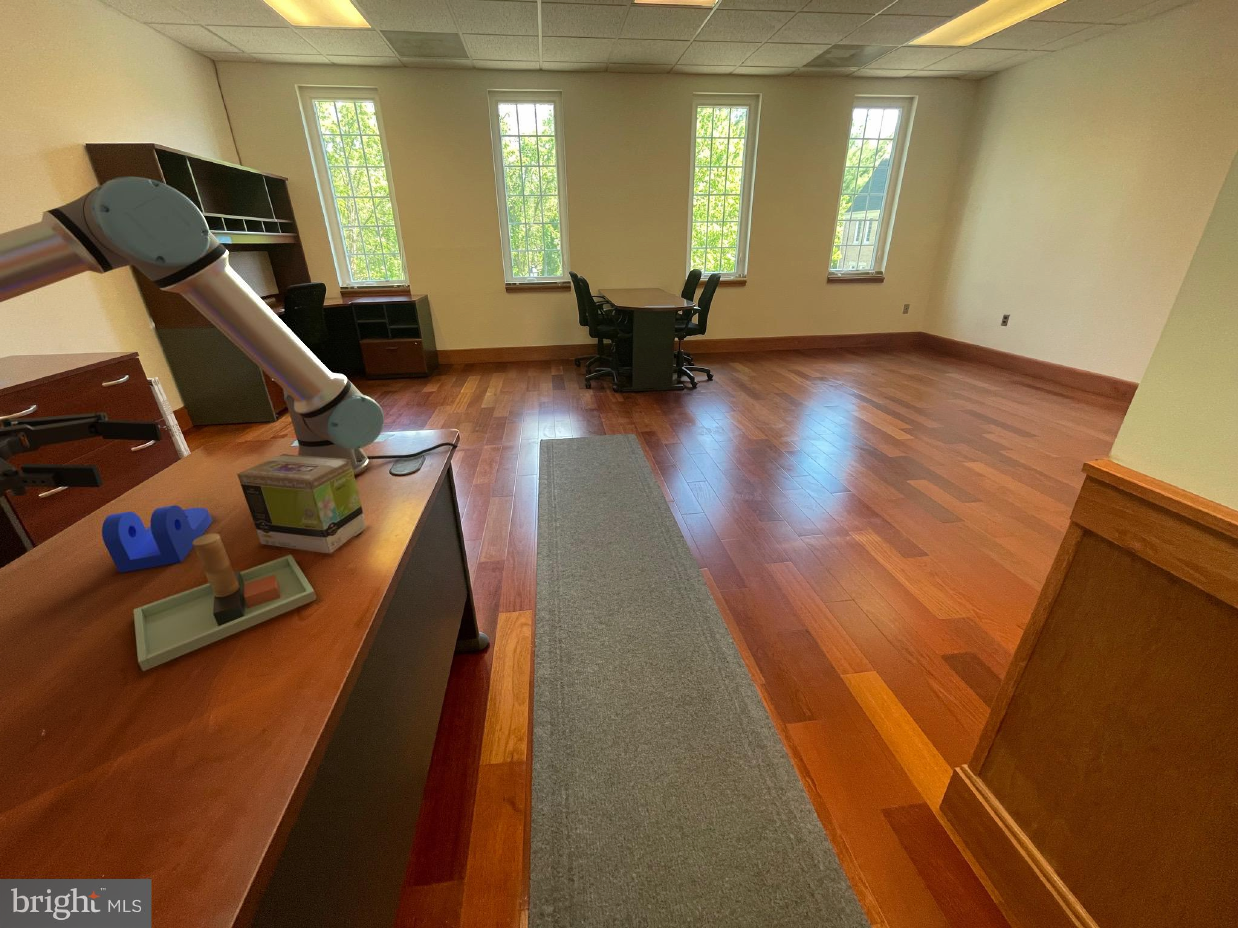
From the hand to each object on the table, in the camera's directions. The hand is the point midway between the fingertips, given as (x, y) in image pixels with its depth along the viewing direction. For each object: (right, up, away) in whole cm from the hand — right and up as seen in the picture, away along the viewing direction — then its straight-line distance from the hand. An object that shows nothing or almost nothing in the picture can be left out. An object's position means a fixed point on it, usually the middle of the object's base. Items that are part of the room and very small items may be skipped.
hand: (131, 451), depth 64 cm
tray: (+8, -24, +7) cm, 26 cm away
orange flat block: (+11, -22, +9) cm, 26 cm away
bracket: (-17, -16, +24) cm, 33 cm away
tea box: (+9, -16, +25) cm, 31 cm away
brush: (+8, -23, +7) cm, 25 cm away
